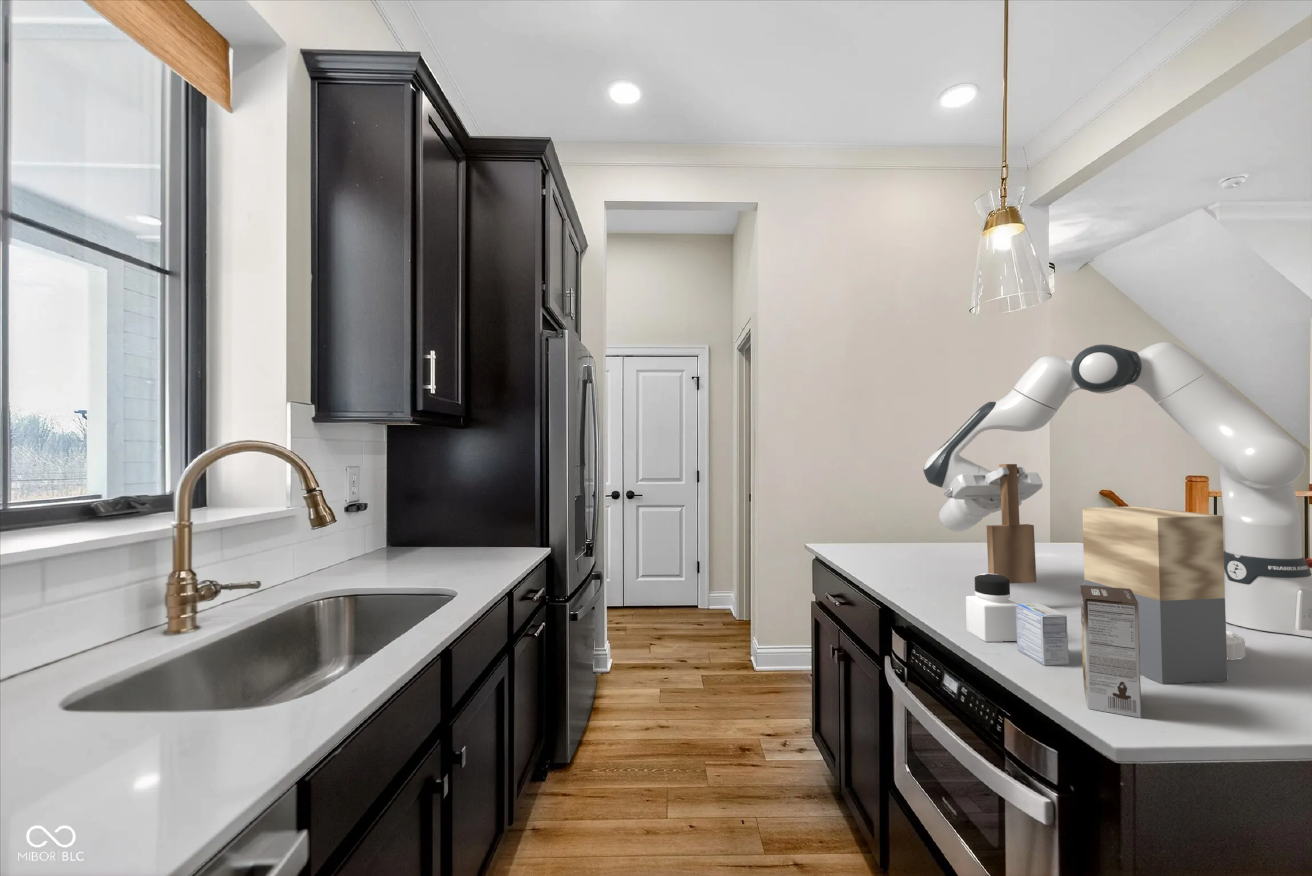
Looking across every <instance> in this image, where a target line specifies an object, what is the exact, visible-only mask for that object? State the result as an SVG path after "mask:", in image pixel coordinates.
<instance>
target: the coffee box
mask: <svg viewBox="0 0 1312 876" xmlns="http://www.w3.org/2000/svg"><path fill="white" fill-rule="evenodd" d="M1080 617H1081V618H1080V619H1081V620H1080V622H1081V648H1082V649H1081V653H1082V654H1081V655H1082V676H1083V677H1082V680H1083V681H1082V682H1083V689H1084V695H1085V702H1086V707H1087V709H1089V710H1093V711H1098V712H1099V711H1100V712H1105V713H1111V714H1117V715H1122V716H1126V717H1127V716H1128V717H1133V718H1138V719H1141V718H1142V700H1141V699H1142V692H1141V691H1142V690H1141V675H1140V645H1139V603H1138V601H1137V600H1136V598H1135V596H1134V594H1133V592H1132V590H1131V589H1126V588H1112V587H1101V586H1088V585H1084V584H1081V585H1080Z"/></svg>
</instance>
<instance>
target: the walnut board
mask: <svg viewBox="0 0 1312 876" xmlns="http://www.w3.org/2000/svg"><path fill="white" fill-rule="evenodd" d="M1000 467H1007V468H1008V471H1009V474H1008V475H1007V476H1006V477H1002V478H1000V491H1001V510H1000V513H1001V524H995V525H994V524H991V525H990V524H989V525H988V524H987V525H986V543H987V544H986V546H987V547H986V548H987V549H986V550H987V568H988V569H987V570H988V572H987V574H998V575H1002V576H1005V577H1007V578H1008V579H1009V580H1010V584H1029V583H1031V584H1033V583H1037V568H1036V567H1037V565H1036V542H1035V525H1034V524H1028V523H1025V524H1024V523H1023V524H1021V523H1020V506H1019V500H1018V478H1017V467H1018V464H1017V463H1004V464H1003V463H1000V464H999V465H998V469H999V468H1000Z"/></svg>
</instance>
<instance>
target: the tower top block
mask: <svg viewBox="0 0 1312 876" xmlns="http://www.w3.org/2000/svg"><path fill="white" fill-rule="evenodd" d="M1081 510H1082V539H1083V540H1082V541H1083V543H1082V544H1083V548H1082V549H1083V579H1085V580H1088V581H1092V582H1095V583H1099V584H1102V585H1106V586H1109V587H1113V588H1126V589H1131V590H1132V592H1133V593H1134V594H1138V595H1141V596H1145V597H1148V598H1152V599H1155V600H1159V601H1167V600H1192V599H1216V598H1225V581H1224V574H1225V569H1224V551H1225V548H1224V524H1223V523H1224V521H1223V520H1224V515H1217V514H1209V513H1203V512H1202V513H1200V512H1191V511H1182V510H1176V509H1175V510H1173V509H1165V508H1159V507H1157V508H1156V507H1148V506H1140V505H1137V506H1136V505H1135V506H1105V507H1104V506H1103V507H1102V506H1101V507H1097V506H1095V507H1082V509H1081Z"/></svg>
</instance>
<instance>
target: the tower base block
mask: <svg viewBox="0 0 1312 876" xmlns="http://www.w3.org/2000/svg"><path fill="white" fill-rule="evenodd" d="M1083 579H1084V578H1083ZM1083 582H1084V584H1083V585H1088V586H1101V587H1109V586H1106V585H1102V584H1099V583H1095V582H1092V581H1088V580H1085V579H1084V581H1083ZM1112 588H1113V587H1112ZM1133 594H1134V593H1133ZM1134 596H1135V598H1136V600H1137V601H1138V603H1139V645H1140V676H1143V677H1144V678H1145V677H1146V678H1147V679H1150V680H1151V681H1155V682H1157V683H1159V684H1161V685H1167V684H1168V685H1169V684H1171V685H1172V684H1173V685H1174V684H1188V683H1187V682H1193V683H1204V682H1203V681H1212V682H1227V681H1228V659H1227V647H1226V630H1227V624H1226V623H1227V622H1226V614H1225V598H1216V599H1192V600H1167V601H1159V600H1155V599H1152V598H1148V597H1145V596H1141V595H1138V594H1134ZM1184 682H1186V683H1184Z"/></svg>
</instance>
